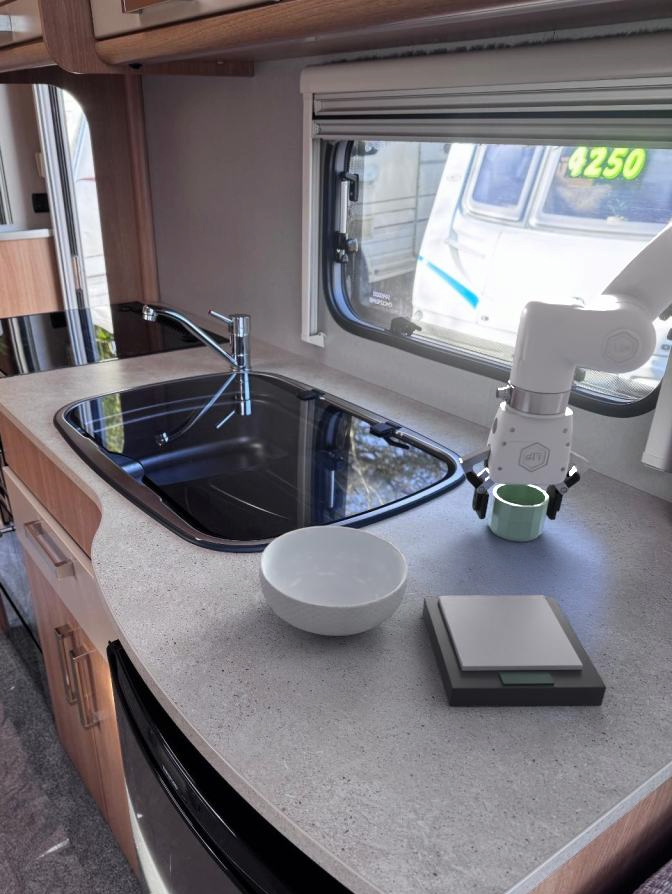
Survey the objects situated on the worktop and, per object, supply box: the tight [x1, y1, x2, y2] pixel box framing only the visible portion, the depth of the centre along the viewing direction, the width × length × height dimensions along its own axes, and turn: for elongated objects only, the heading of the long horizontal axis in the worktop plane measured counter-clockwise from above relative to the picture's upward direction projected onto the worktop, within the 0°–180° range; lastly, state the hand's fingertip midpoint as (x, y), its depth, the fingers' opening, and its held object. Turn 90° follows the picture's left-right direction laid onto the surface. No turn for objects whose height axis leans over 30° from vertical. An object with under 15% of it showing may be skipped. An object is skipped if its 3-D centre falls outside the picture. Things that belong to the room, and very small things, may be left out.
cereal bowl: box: [258, 525, 409, 637], centre depth 82 cm, size 17×17×7 cm
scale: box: [422, 594, 607, 708], centre depth 77 cm, size 15×15×3 cm
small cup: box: [487, 484, 549, 542], centre depth 100 cm, size 7×7×6 cm
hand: (514, 514), depth 100 cm, fingers open, 9 cm apart
